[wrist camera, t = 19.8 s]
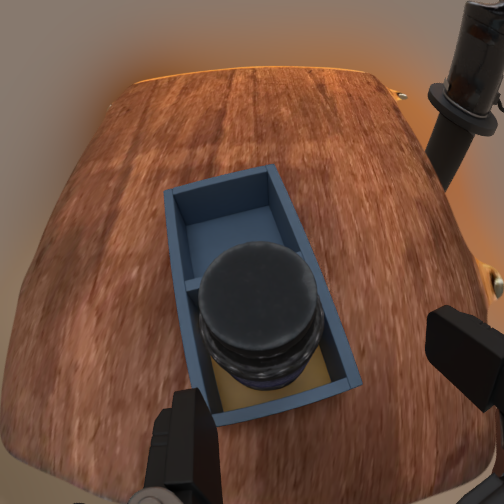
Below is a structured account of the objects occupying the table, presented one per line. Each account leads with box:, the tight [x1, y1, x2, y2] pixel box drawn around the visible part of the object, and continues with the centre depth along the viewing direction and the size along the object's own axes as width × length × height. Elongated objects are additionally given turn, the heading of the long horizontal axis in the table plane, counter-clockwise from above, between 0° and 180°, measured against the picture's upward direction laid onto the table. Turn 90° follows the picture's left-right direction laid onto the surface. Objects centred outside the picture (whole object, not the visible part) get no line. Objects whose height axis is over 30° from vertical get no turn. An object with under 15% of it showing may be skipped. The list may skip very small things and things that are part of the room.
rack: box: [164, 164, 363, 427], centre depth 21 cm, size 10×18×5 cm, turn 14°
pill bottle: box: [198, 241, 324, 391], centre depth 16 cm, size 6×6×11 cm
